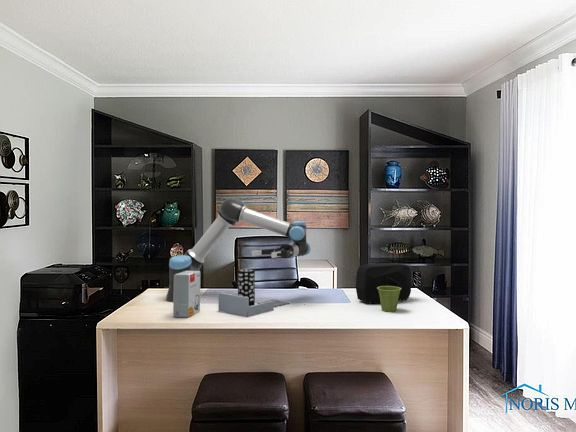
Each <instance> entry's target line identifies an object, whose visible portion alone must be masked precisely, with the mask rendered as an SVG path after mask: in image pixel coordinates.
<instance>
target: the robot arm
mask: <svg viewBox="0 0 576 432" xmlns="http://www.w3.org/2000/svg"><path fill="white" fill-rule="evenodd" d="M242 222H243V223H246V224H249V225H252V226H255V227H257V228H261V229H263V230H266V231H269V232H271V233H275V234H278V235H281V236H284V237H287V238H288V239H292V243H287V244H285V243H284V244H282V245H281V246H280V247H277V248H270V249H269V248H266V249H265V248H264V249H257V250H252V251H251V257H258V256H259V257H261V256H262V255H263V256H264V255H265V256H266V255H270V256H271V259H274V258H283V259H290V258H291V259H293V258H296V257H304V256H307V255H308V254H310V252H311V245H310V243H308V242H307V222H306V221H304V220H303V221H301V220H299V221H298V220H296V221H293V222H289V221H285V220H281V219H279V218H276V217H274V216H271V215H268V214H265V213H262V212H260V211H256V210H254V209H251V208H247V206H246V205H245V203H244V202H243V200H241V199H239V198H237V197H233V198H231V197H230V198H226V199H225V200H223V201H222V202H221V204H220V207H219V210H218V212H217V217H216V218H215V220H214V221H213V222H212V224H211V225H210V226H209V227H208V228H207V230H206V231H205V232H204V234H203V235H202V236H201V237H200V239H199V240H197V242H196V244H195V245H194V246H193V247H192V248H190V249H188V250H187V251H186V252H185V253H184V254H183V255H180V254H179V255H175V256H172V257H170V258H169V262H168V267H169V286H168V289H167V293H166V296H165V300H166V301H168V302H172V303H173V296H174V275H175V274H178V273H181V272H184V271H200V270H201V268H202V266H203V264H204V263H205V258H206V257H207V255H209V253H210V251H211V250H212V249H213V248H214V247H215V245H216V244H217V243H218V242H219V241H220V240H221V238H222V237H223V236H224V234H225V233H226V232H227V230H228V229H229V228H230V227H234V226H235V225H236V223H242Z"/></svg>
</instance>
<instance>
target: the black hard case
mask: <svg viewBox="0 0 576 432" xmlns="http://www.w3.org/2000/svg"><path fill="white" fill-rule="evenodd" d="M380 286H395V287H400V288H401V290H400V294H399V298H398V302H401V301H406V300H408V299H409V298H410V295H411V294H412V293H411V292H412V273H411V267H410V266H408V265H407V264H403V263H399V262H398V263H397V262H384V263H371V264H368V263H367V264H363V265H359V266H358V267H357V270H356V276H355V292H356V295H357V296H356V297H357V300H359V301H360V302H363V303H366V304H371V305H372V304H381V302H380V295H379V292H378V289H377V287H380Z"/></svg>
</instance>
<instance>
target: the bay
mask: <svg viewBox="0 0 576 432" xmlns="http://www.w3.org/2000/svg"><path fill="white" fill-rule="evenodd" d="M268 301H269V300H268ZM264 302H265V301H264ZM274 310H275V308H274V301H269V302H265V303H261V304H255V305H252V306H249V297H243V296H238V294H236V295H235V294H232V293H225V292H218V312H220V313H221V312H222V313H225V314H230V315H236V316H241V317H245V318H249V317H252V316H253V317H254V316H257V315H260V314H264V313H269V312H273V311H274Z"/></svg>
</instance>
